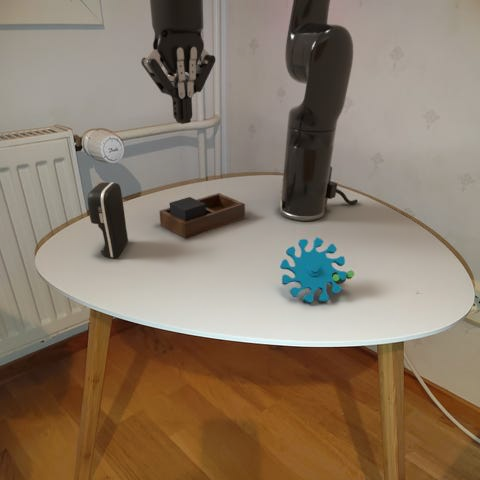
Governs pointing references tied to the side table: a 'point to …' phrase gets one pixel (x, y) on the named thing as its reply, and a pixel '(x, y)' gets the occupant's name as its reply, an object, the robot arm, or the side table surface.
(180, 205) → the black block
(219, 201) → the wooden divided tray
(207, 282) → the side table surface
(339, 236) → the side table surface
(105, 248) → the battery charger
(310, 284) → the gear
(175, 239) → the side table surface
